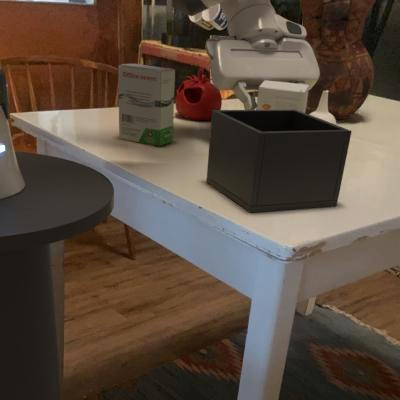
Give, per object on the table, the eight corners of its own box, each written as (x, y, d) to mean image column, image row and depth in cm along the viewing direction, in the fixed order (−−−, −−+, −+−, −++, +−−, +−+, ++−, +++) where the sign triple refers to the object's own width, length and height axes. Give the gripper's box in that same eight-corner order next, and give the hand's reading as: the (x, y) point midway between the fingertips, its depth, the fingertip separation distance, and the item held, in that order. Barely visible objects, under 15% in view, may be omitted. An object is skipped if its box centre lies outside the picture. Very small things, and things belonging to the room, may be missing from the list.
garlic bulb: (332, 131, 125) (339, 89, 121) (336, 137, 120) (344, 94, 116) (301, 128, 125) (308, 86, 121) (304, 135, 120) (311, 91, 116)
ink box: (174, 142, 107) (177, 67, 101) (159, 147, 103) (162, 70, 97) (132, 133, 110) (133, 61, 104) (117, 138, 106) (117, 63, 100)
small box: (300, 147, 109) (310, 84, 103) (296, 156, 105) (306, 91, 99) (257, 141, 111) (264, 79, 104) (251, 150, 106) (258, 85, 100)
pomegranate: (203, 111, 133) (206, 64, 128) (230, 121, 126) (234, 72, 121) (164, 113, 128) (166, 64, 123) (190, 123, 121) (193, 72, 116)
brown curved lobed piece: (259, 103, 146) (273, -19, 133) (335, 105, 152) (357, -12, 139) (298, 124, 129) (319, -15, 115) (383, 125, 135) (413, -7, 121)
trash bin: (250, 212, 78) (259, 133, 73) (206, 181, 88) (211, 110, 83) (336, 205, 83) (351, 130, 78) (285, 177, 93) (296, 109, 88)
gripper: (209, 22, 100) (229, 97, 98) (312, 27, 108) (333, 97, 106) (196, 48, 106) (215, 120, 104) (295, 51, 113) (315, 118, 112)
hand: (276, 109), depth 105 cm, fingers open, 8 cm apart
